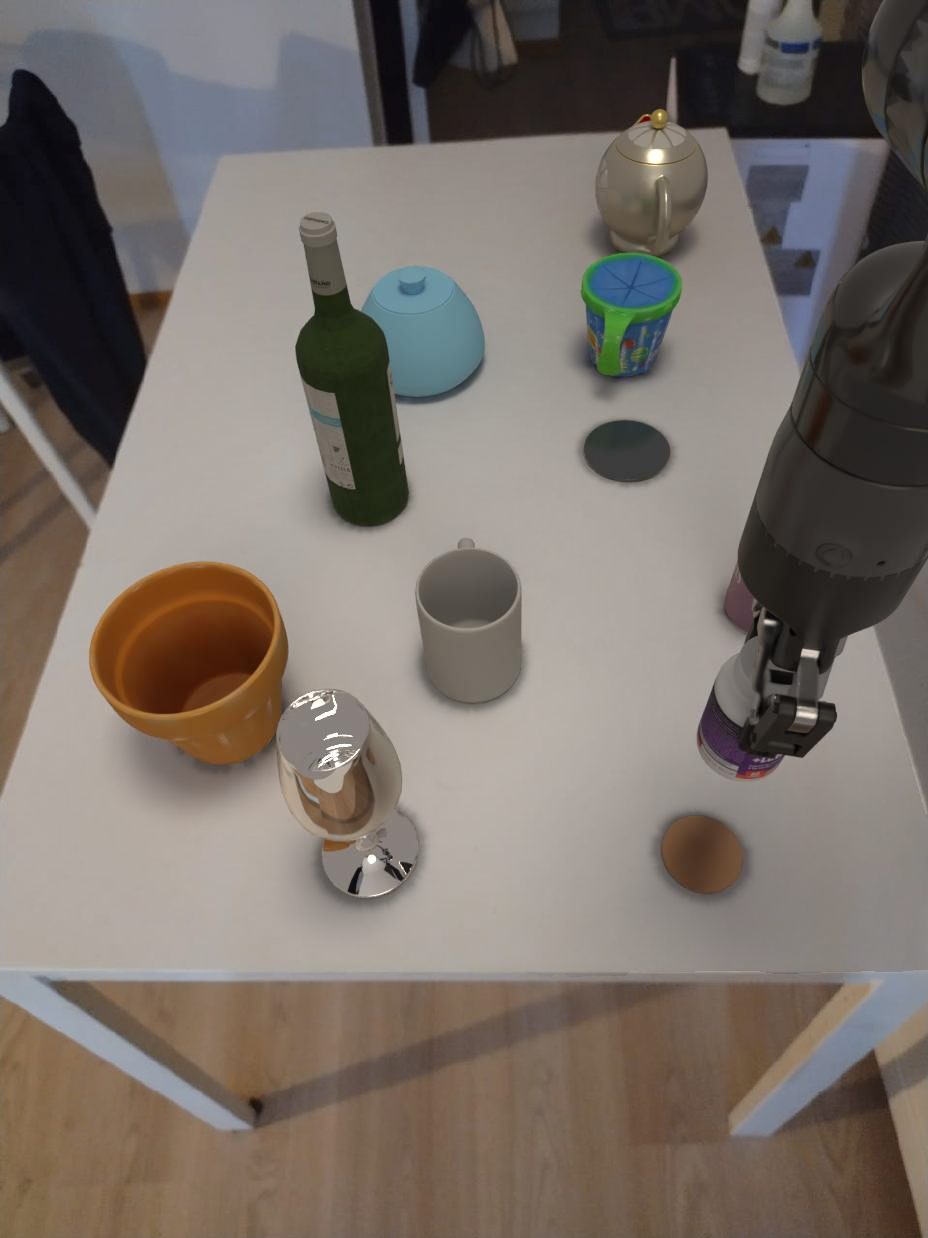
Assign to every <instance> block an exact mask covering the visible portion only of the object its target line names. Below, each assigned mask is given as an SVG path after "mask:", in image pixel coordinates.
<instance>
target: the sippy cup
mask: <svg viewBox="0 0 928 1238" xmlns="http://www.w3.org/2000/svg"><path fill="white" fill-rule="evenodd" d="M681 276H682V275H680V273H679V271H678V270H677V269H676V268H675V267H674V265H672V264H671V263H669V262H668V261H666V260H664V259H662V258H660V257H655V256H651V255H647V254H640V253H621V252H619V253H614V254H610V255H607V256H605V257H602V258H600V259H598V260H596V261H595V262H593V263H591V264H590V265H589V267H587V268H586V270H585V271H584V273H583V275H582V279H581V280H582V281H581V289H580V296H581V298H582V301H583V302H584V303H585V315H586V316H585V318H586V330H587V338H588V339H587V340H588V350H589V355H590V359H591V363H592V364H593V365H595V366H596V368H597V371H598V373H600V374H601V375H603V376H604V375H605V376H612V377H616V378H619V377H631V376H636V375H639V374H641V373H646V372H648V371H650V369H651V367H652V366H653V364H654V363H655V361H656V359H657V357H658V354H659V351H660V349H661V345H662V343H663V341H664V338H665V335H666V332H667V330H668V327H669V323H670V321H671V317H672V315H673V314H672V313H673V311H674V309H675V308H676V307H677V305H678V303H679V301H680V299H681V296H682V289H683V280H682V277H681Z"/></svg>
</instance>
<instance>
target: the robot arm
mask: <svg viewBox="0 0 928 1238" xmlns="http://www.w3.org/2000/svg"><path fill="white" fill-rule="evenodd" d="M861 88H862V93H863V97H864V102H865V106H866V107H867V111H868V113H869V116H870V119H871V121H872V122H873V124H874V126H875V128H876V129H877V131H878V132H879V134H880V135H881V136H882V138H883V139H884V141H885V142H886V143H887V146H889V148H890V149H891V150H892V152H893V153H894V154H895V155H896V156H897V158H898V159H899V161H901V163H902V165H904V167H905V168H906V169H907V171H908V172H909V174H910V175H911V176H912V177H913V179H914V180H915V181H916V183H917V184H918V185H919V187H920V188H921V189H922V191H923V192H924V193H925V195H926V196H927V197H928V0H882V2H881V3H880V5H879V7H878V10H877V12H876V14H875V16H874V18H873V21H872V22H871V25H870V29H869V30H868V34H867V38H866V41H865V45H864V49H863V54H862V60H861ZM796 385H797V386H796V388H795V392H794V394H793V398H792V401H791V403H790V406H789V407H788V409H787V411H786V413H785V415H784V417H783V419H782V421H781V422H780V424H779V426H778V428H777V430H776V433H775V435H774V436H773V439H772V442H771V445H770V446H769V450H768V454H767V456H766V458H765V463H764V464H763V469H762V472H761V474H760V478H759V481H758V484H757V487H756V490H755V492H754V493H755V494H754V497H753V499H752V503H751V506H750V509H749V512H748V515H747V519H746V522H745V525H744V527H743V531H742V533H741V536H740V539H739V543H738V548H737V560H738V567H739V571H740V574H741V577H742V580H743V582H744V584H745V586H746V587H747V589H748V590H749V592H750V593H751V595H752V596H753V597H754V600H753V604H752V611H753V618H754V619H753V622H752V624H751V627H750V630H749V632H748V631H747V632H748V633H747V635H746V637H745V640H744V642H743V645H744V644H745V643H746V642H747V641H749V640H750V639H752V638H754V637H756V636H758V638H759V641H758V645H757V649H756V653H755V656H754V660H753V664H752V668H751V682H752V689H753V690H754V691H755V695H754V699H753V703H752V706H751V708H750V709H749V712H748V717H747V719H746V721H745V723H744V726H743V728H742V730H741V732H740V735H739V745H738V748H739V749H740V750H741V751H744V752H746V755H751V756H757V757H763V758H769V759H774V758H775V756H776V755H778V754H781V755H785V756H787V757H795V758H800V759H804V757H805V756H807V754H808V753H810V752H811V750H812V749H814V748H815V747H816V746H817V745H818V743H820V742H821V741H822V740H823V739H824V737H826V735H827V734H829V733H830V732H831V731H832V729H833V728H834V726H835V723H836V722H837V719H838V712H837V705H836V704H835V703H834V702H827V701H825V700H821V699H822V698H823V697H824V693H825V690H826V687H827V684H828V681H829V677H830V675H831V671H832V668H833V666H834V663H835V660H836V658H837V657H839V656H840V655H841V654H843V652H844V649H845V646H846V643H847V641H848V637H849V636H851V635H854V634H855V633H858V632H861V631H864V630H866V629H869V628H871V627H874V626H876V625H878V624H879V623H882V622H883V621H884V620H886V619H888V617H890V616H891V615H892V614H893V613H894V612H895V611H896V610H897V609H898V608H899V606H900V605H901V604H902V601H903V600H904V598H905V597H906V595H907V594H908V592H909V590H910V589H911V588H912V585H913V584H914V583H915V580H916V579H917V577H918V576H919V574H920V572H921V571H922V570H923V568H924V566H925V564H926V563H927V561H928V232H927V233H926V237H925V240H919V241H908V242H899V243H895V244H891V245H888V246H883V247H882V248H879V249H877V250H874V251H873V252H870V253H869V254H868V255H866V256H864V257H862V258H861V259H860V260H858V261H857V262H856V263H854V264H853V265H852V267H851V268H849V269H848V270H847V271H846V272H845V274H843V275H842V276H841V278H840V279H839V281H838V282H837V283H836V286H835V287H834V288H833V290H832V292H831V293H830V296H829V297H828V299H827V302H826V304H825V306H824V308H823V311H822V313H821V315H820V317H819V320H818V323H817V326H816V329H815V332H814V334H813V337H812V339H811V344H810V346H809V349H808V352H807V354H806V359H805V361H804V363H803V367H802V370H801V373H800V377H799V379H798V382H797V384H796ZM769 660H771V662H772V663H773V664H774V665H775V666H776V667H778V668H781V669H785V670H788V671H791V672H787V671H780V670H773V669H769V668H768V664H769ZM771 696H772V699H771V702H772V704H771V705H769V704H767V702H768V699H769V697H771Z"/></svg>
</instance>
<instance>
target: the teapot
mask: <svg viewBox="0 0 928 1238" xmlns="http://www.w3.org/2000/svg"><path fill="white" fill-rule="evenodd" d="M708 171H709V170H708V163H707V160H706V155H705V153H704V151H703V149H702V147H701V145H700V144H699V142H698V140H697V138H696V137H694V135H693V134H691V133H690V132H689V131H688V130H687V129H686V128H685V127H682V126H680V125H679V124H678V123H677V124H676V123H674V122H671V121H669V116H668V113H667V111H666V110H664V109H662V108H659V109H656V110H654V111H653V112H652V113H651V114H649V113H648V114H647V113H644V114H643V115H641V117H639V118H638V120H637V121H636V122H634V124H633V125H632V126H630V127H628V128H627V129H625V130H624V131H622V132H621V133H620V134H619V135H618V136H616V137H615V138H614V139H613V141H612V142H611V143H610V144H609V146H608V147H607V148H606V150H605V152H604V154H603V155H602V157H601V160H600V161H599V164H598V167H597V171H596V175H595V181H594V182H595V183H594V193H595V194H594V195H595V201H596V206H597V209H598V212H599V214H600V216H601V218H602V220H603V221H604V223H605V224H606V226H607V227H608V228H609V229H610V231H609V232H610V233H609V240H610V243H611V245H612V246H613V248H614V249H616V251H617V252H619V253H640V254H647V255H651V256H655V257H657V258H660V257H663V256H665V255H666V254H668V253H670V252H671V251H672V250H673V249H675V247H676V245H677V244H678V241H679V239H680V233H681V232H683V231H684V230H685V229H686V228H687V227H688V226H689V225H690V224H691V223H692V221H693V220H694V219H695V218H696V216H697V215H698V213H699V211H700V209H701V208H702V205H703V203H704V200H705V197H706V193H707V189H708V183H709V172H708Z"/></svg>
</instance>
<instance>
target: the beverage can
mask: <svg viewBox="0 0 928 1238" xmlns="http://www.w3.org/2000/svg"><path fill="white" fill-rule="evenodd" d="M753 600H754V597H753V596H752V595H751V593H750V592H749V590H748V589H747V587H746V586H745V584H744V582H743V580H742V577H741V574H740V571H739V567H738V559H736V563H735V566H734V569H733V572H732V574H731V578H730V581H729V584H728V587H727V589H726V593H725V595H724V604H723V605H724V609H725V612H726V614H727V615H728V617H729V618H730V620H731V621H732V622H733V623H734V624H735V625H736V626H737V627H739V628H740V629H741V630H744V631H745V632H749V630H750V627H751V624H752V622H753V619H754V618H753V611H752V604H753Z"/></svg>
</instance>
